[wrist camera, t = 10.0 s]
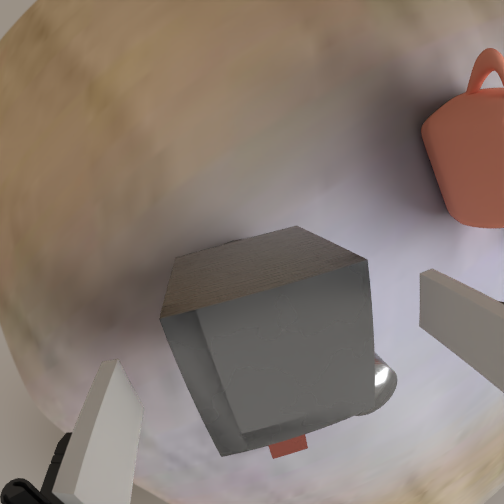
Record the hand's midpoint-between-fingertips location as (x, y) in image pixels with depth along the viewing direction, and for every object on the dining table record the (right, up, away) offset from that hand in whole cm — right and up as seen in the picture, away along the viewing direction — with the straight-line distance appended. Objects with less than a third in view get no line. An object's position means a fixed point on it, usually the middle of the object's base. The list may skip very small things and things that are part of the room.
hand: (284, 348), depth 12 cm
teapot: (+18, +12, +11) cm, 24 cm away
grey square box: (-1, +1, +6) cm, 7 cm away
